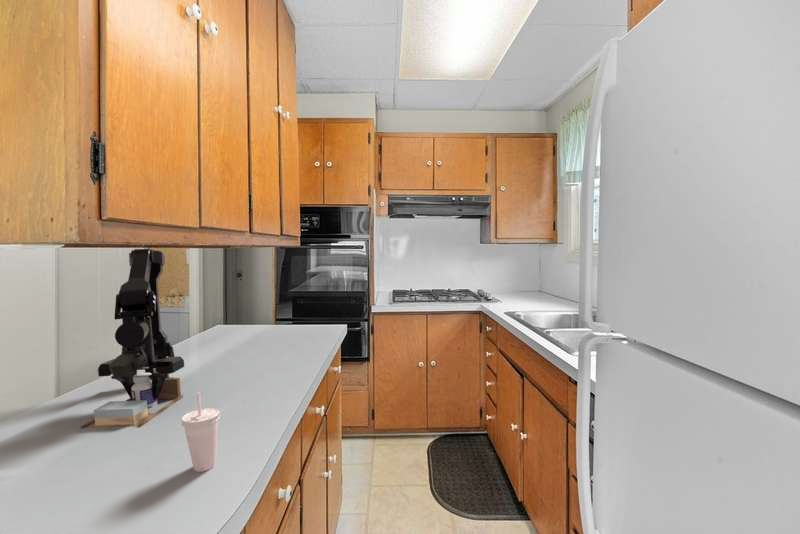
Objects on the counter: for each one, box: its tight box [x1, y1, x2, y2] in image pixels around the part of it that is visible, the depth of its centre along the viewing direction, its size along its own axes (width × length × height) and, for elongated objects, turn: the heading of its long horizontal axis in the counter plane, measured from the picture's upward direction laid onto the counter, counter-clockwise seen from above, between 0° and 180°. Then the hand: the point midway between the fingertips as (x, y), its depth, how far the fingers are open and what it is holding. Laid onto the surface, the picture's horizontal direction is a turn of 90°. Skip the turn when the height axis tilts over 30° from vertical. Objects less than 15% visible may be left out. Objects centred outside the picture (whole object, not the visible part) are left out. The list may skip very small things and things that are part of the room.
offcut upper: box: [93, 400, 147, 418], centre depth 98 cm, size 5×9×2 cm, turn 88°
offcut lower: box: [94, 408, 149, 426], centre depth 98 cm, size 5×9×2 cm, turn 88°
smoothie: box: [181, 391, 221, 473], centre depth 77 cm, size 6×6×14 cm
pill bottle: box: [131, 372, 158, 409], centre depth 107 cm, size 5×5×9 cm
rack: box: [80, 377, 184, 430], centre depth 103 cm, size 18×14×6 cm
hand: (144, 399), depth 107 cm, fingers closed on pill bottle, 5 cm apart
